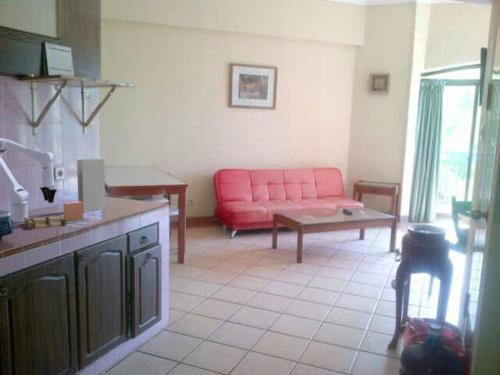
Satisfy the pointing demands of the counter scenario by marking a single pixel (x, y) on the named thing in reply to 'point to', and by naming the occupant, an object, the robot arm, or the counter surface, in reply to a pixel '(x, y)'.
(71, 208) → the panel
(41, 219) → the offcut
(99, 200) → the grey tall block
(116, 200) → the counter surface
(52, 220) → the offcut
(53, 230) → the counter surface
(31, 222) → the rack
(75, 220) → the mat
